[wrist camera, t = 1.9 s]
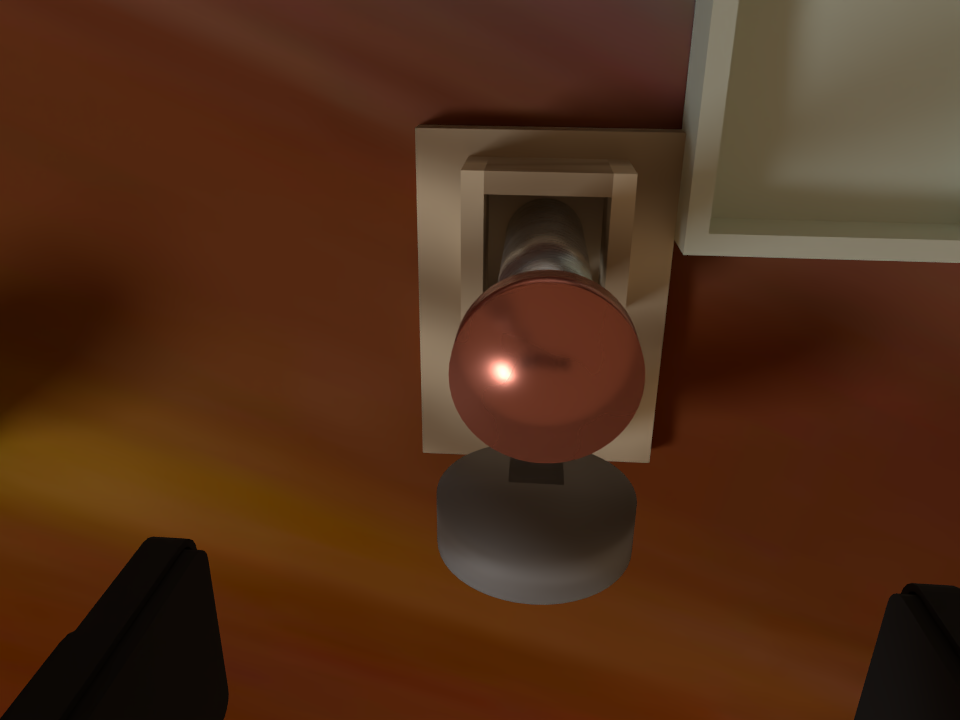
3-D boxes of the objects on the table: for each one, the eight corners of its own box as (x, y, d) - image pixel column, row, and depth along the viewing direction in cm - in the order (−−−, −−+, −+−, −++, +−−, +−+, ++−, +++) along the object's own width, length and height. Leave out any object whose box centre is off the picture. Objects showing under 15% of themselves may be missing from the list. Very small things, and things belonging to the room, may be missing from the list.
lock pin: (486, 175, 29) (447, 281, 17) (608, 178, 29) (654, 288, 17) (485, 290, 31) (449, 459, 19) (599, 294, 31) (636, 467, 19)
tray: (708, -118, 26) (729, -135, 23) (1082, -118, 25) (1151, -136, 22) (670, 233, 31) (683, 255, 28) (983, 241, 30) (1029, 264, 27)
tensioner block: (419, 124, 30) (356, 177, 20) (681, 129, 29) (755, 185, 19) (425, 441, 35) (379, 607, 25) (646, 451, 35) (688, 625, 25)
